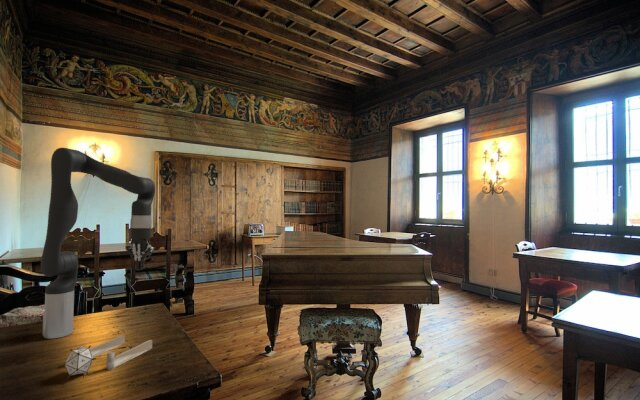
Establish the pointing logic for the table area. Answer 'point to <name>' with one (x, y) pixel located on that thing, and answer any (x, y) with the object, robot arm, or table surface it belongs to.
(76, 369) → the game die
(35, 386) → the table surface
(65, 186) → the robot arm
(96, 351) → the chute
